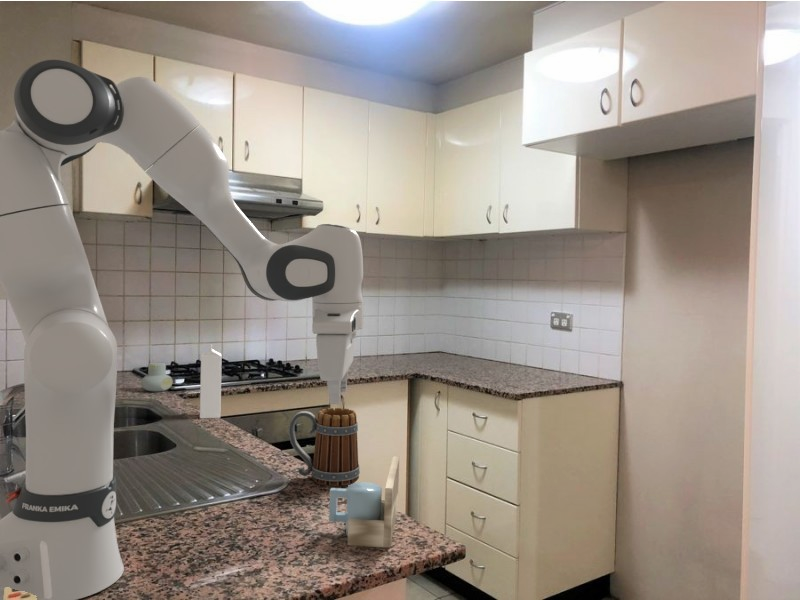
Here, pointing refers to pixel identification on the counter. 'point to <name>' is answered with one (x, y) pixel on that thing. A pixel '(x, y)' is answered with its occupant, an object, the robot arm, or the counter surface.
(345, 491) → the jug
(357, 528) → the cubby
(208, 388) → the milk
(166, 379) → the air freshener
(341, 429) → the mug
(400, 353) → the counter surface
